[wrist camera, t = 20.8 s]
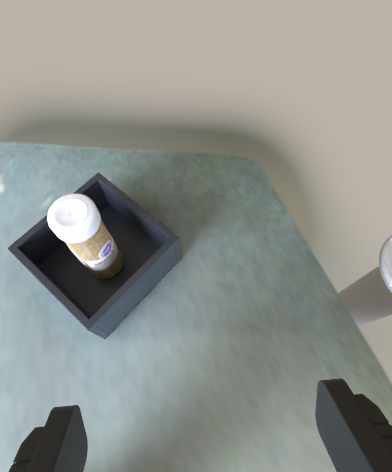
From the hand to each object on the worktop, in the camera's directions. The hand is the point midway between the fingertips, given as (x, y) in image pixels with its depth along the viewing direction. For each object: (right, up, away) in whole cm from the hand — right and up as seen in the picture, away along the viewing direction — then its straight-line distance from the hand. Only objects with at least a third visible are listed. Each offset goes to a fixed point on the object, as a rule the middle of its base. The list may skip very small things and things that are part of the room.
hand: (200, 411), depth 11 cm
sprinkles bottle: (-12, +2, +32) cm, 34 cm away
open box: (-12, +2, +33) cm, 35 cm away
